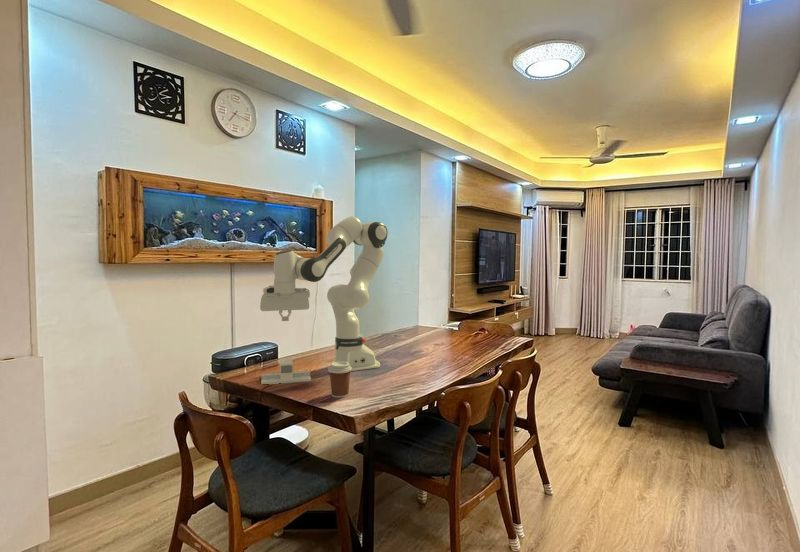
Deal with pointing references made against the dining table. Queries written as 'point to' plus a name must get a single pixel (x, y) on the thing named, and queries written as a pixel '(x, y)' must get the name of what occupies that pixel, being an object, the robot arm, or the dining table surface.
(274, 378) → the rail plate
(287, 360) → the block
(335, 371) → the coffee cup
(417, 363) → the dining table surface
